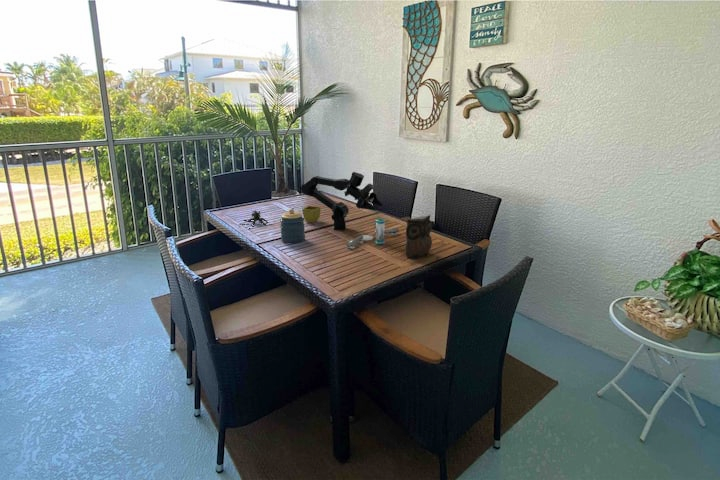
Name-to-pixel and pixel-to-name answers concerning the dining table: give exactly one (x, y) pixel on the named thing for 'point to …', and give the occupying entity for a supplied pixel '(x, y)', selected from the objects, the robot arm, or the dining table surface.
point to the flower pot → (311, 213)
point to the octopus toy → (256, 217)
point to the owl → (418, 237)
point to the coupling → (380, 231)
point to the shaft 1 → (357, 240)
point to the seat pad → (367, 237)
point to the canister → (292, 227)
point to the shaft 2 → (390, 231)
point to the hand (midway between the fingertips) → (379, 207)
